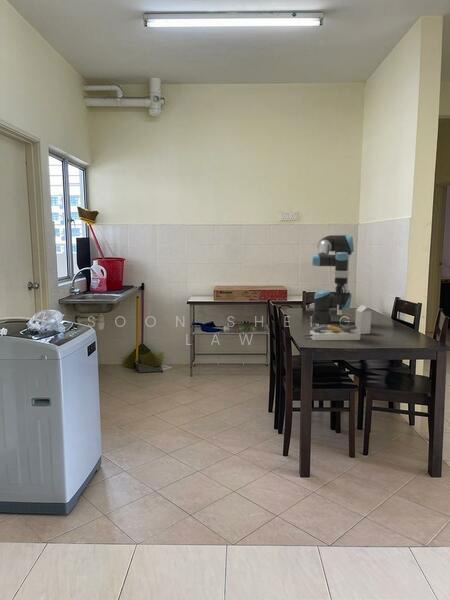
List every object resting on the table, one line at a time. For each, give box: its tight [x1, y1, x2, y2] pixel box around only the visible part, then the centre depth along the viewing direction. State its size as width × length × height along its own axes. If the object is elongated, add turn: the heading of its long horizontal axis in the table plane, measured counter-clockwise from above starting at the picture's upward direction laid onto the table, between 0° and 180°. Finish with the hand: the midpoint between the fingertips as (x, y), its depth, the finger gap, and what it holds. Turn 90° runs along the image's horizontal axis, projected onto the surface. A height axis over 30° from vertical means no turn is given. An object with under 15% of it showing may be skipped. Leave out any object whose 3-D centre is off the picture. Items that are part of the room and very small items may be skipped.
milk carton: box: [354, 303, 372, 335], centre depth 287 cm, size 7×7×19 cm
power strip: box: [303, 329, 361, 341], centre depth 272 cm, size 10×34×5 cm, turn 94°
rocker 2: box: [341, 324, 357, 332], centre depth 274 cm, size 5×8×2 cm, turn 94°
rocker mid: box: [326, 324, 342, 332], centre depth 273 cm, size 5×8×2 cm, turn 94°
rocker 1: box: [311, 324, 328, 332], centre depth 273 cm, size 5×8×2 cm, turn 94°
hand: (339, 314), depth 273 cm, fingers closed
